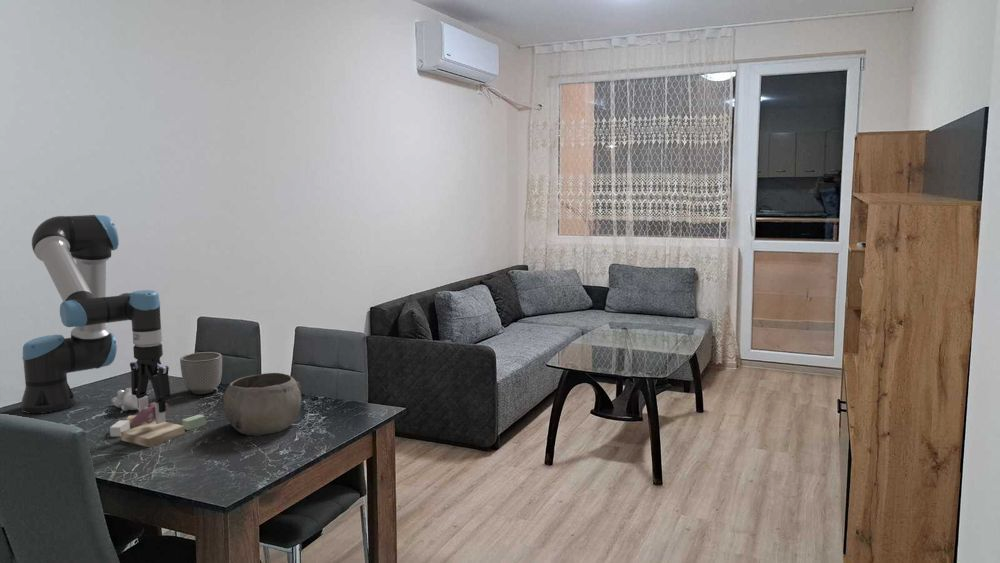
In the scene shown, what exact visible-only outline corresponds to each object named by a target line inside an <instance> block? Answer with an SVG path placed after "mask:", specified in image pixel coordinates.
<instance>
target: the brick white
mask: <svg viewBox="0 0 1000 563" xmlns="http://www.w3.org/2000/svg"><path fill="white" fill-rule="evenodd" d="M128 429H131V427H130V420H127V419H125V420H117V421H116V422H115V423H114V424H112V425H111V426H110V427H109V436H110V437H121V432H123V431H126V430H128Z"/></svg>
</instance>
